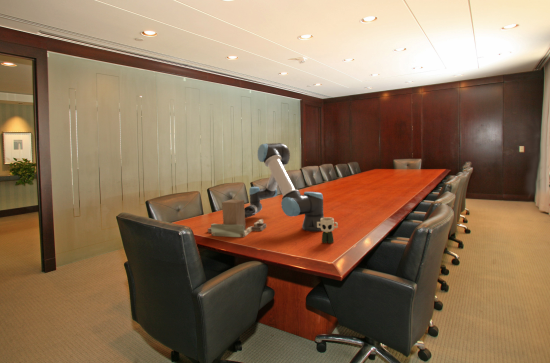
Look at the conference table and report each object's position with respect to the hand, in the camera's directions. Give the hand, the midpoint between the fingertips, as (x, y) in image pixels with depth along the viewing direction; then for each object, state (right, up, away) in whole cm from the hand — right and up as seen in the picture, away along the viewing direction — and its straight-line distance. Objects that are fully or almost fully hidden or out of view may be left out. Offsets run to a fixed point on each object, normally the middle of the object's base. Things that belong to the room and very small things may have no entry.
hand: (236, 218), depth 196 cm
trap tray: (+1, -7, +3) cm, 8 cm away
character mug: (+53, -9, -33) cm, 63 cm away
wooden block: (0, -8, -5) cm, 10 cm away
